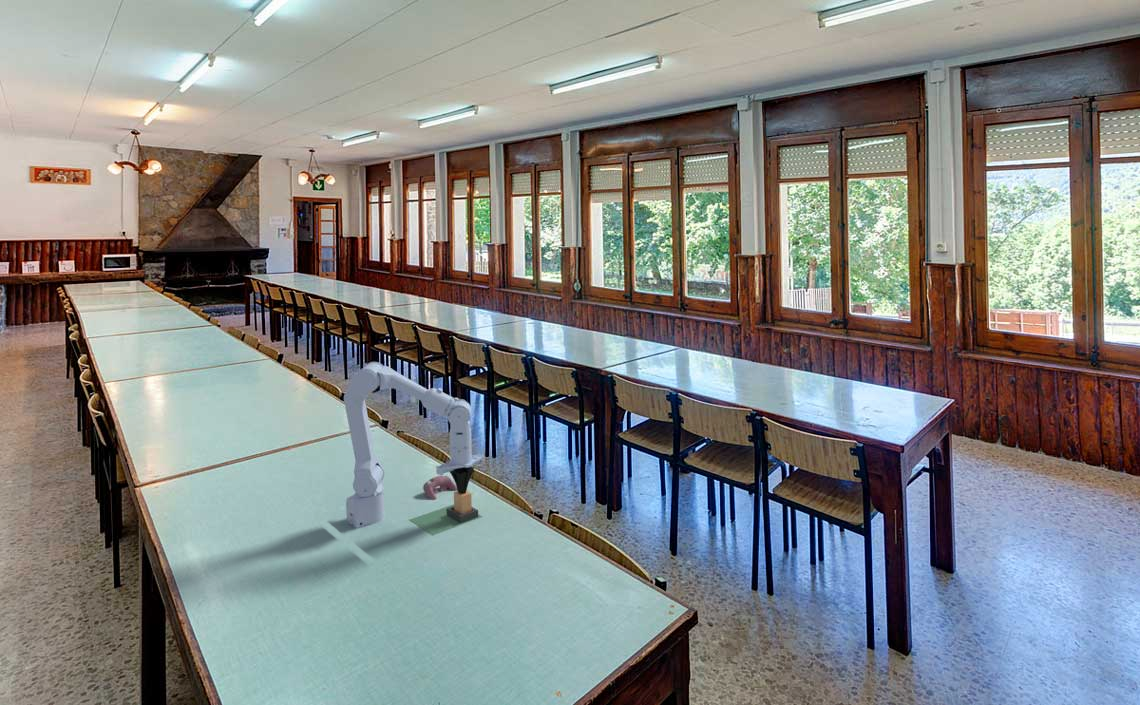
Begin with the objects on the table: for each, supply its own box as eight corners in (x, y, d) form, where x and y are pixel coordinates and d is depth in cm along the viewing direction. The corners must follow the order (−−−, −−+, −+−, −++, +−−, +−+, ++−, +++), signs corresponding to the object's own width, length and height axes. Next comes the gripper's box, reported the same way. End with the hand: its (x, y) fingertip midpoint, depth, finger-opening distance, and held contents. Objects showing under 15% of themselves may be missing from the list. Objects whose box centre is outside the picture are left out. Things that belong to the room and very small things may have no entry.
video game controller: (451, 495, 190) (444, 473, 191) (460, 492, 187) (452, 470, 188) (425, 505, 183) (418, 483, 183) (434, 502, 180) (427, 480, 180)
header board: (432, 539, 159) (432, 528, 158) (409, 523, 167) (408, 512, 167) (482, 520, 170) (482, 509, 169) (458, 506, 178) (458, 496, 178)
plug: (462, 520, 167) (462, 496, 166) (454, 515, 170) (453, 492, 169) (471, 517, 169) (471, 493, 168) (463, 512, 172) (462, 489, 171)
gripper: (446, 455, 158) (447, 504, 161) (491, 443, 168) (491, 489, 171) (431, 448, 163) (433, 496, 166) (476, 437, 173) (477, 482, 176)
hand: (461, 492), depth 168 cm, fingers closed, pressing on plug
